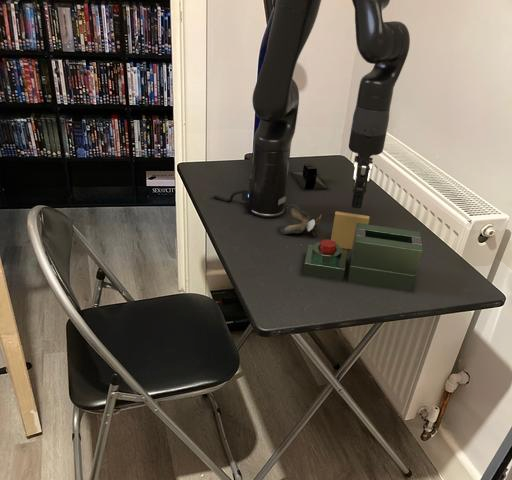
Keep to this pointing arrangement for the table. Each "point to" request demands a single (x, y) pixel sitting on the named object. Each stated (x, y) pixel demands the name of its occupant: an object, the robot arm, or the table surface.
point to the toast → (346, 228)
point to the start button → (327, 246)
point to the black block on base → (309, 178)
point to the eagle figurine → (302, 218)
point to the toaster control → (325, 263)
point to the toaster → (384, 256)
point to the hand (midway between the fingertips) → (356, 199)
